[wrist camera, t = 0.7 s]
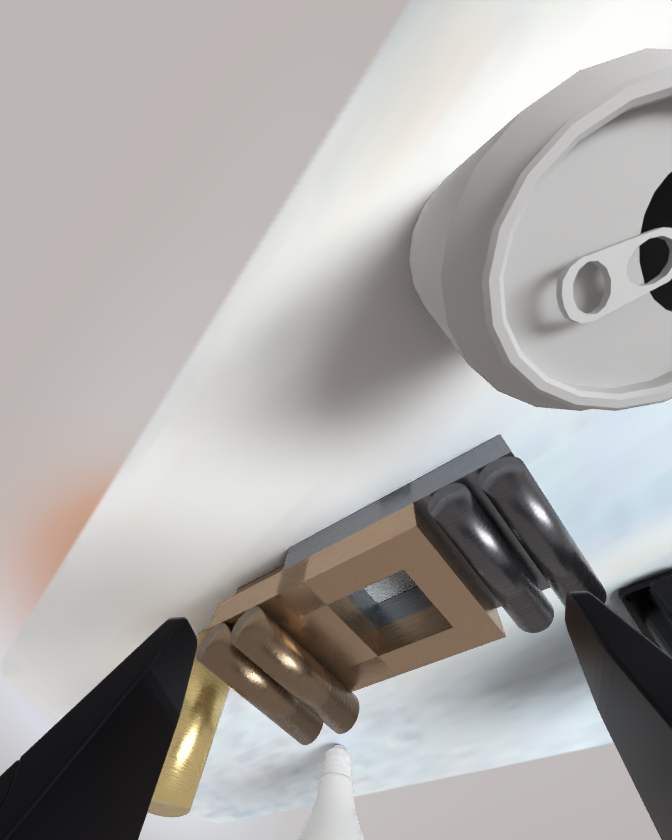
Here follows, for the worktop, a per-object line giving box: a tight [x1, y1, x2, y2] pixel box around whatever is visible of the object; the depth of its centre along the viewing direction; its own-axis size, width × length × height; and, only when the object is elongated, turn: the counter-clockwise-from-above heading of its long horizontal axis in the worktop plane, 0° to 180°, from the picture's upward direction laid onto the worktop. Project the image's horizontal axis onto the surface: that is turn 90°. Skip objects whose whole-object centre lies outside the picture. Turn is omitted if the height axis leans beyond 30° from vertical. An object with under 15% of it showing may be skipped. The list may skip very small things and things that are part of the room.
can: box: [409, 49, 672, 411], centre depth 13 cm, size 8×8×12 cm
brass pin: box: [148, 629, 230, 817], centre depth 28 cm, size 4×4×10 cm
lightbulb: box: [298, 745, 364, 840], centre depth 32 cm, size 6×6×11 cm
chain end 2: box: [283, 435, 606, 633], centre depth 24 cm, size 10×16×4 cm, turn 127°
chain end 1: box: [196, 503, 506, 745], centre depth 25 cm, size 10×16×6 cm, turn 127°
